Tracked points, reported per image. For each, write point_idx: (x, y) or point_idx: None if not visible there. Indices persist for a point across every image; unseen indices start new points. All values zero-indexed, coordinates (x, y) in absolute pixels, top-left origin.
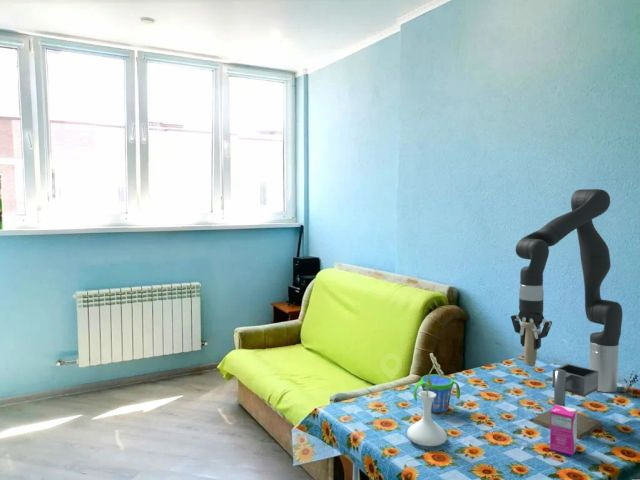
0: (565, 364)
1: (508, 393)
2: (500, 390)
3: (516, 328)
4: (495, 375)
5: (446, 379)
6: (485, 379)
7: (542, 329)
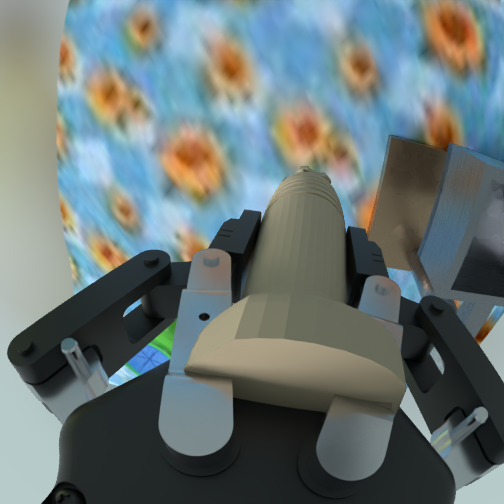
0: (480, 185)
1: (220, 105)
2: (190, 101)
3: (149, 332)
4: (118, 8)
5: (152, 348)
6: (115, 60)
7: (422, 413)
